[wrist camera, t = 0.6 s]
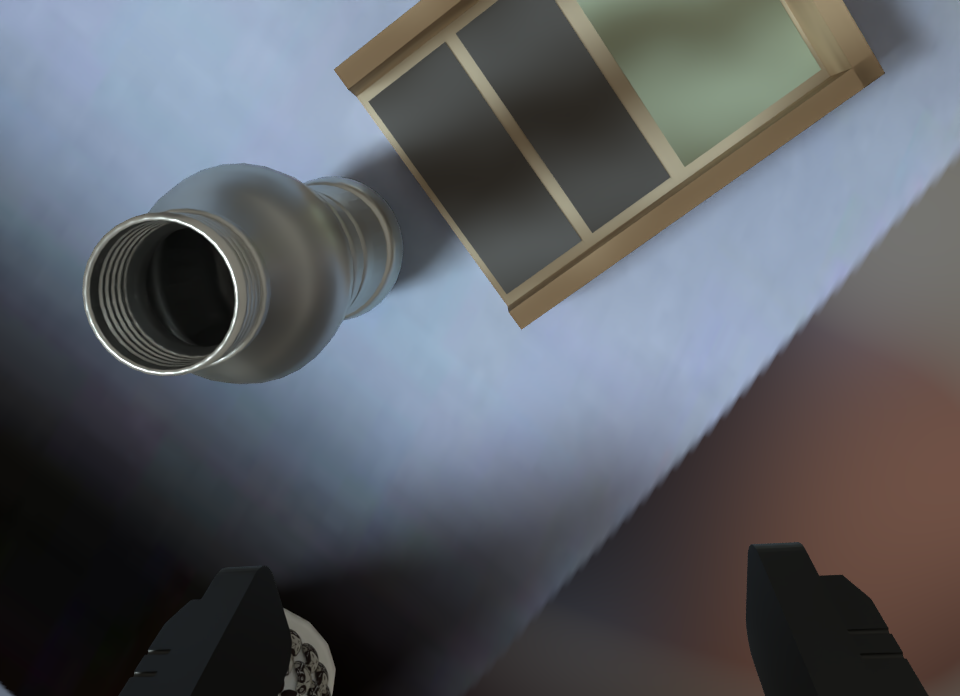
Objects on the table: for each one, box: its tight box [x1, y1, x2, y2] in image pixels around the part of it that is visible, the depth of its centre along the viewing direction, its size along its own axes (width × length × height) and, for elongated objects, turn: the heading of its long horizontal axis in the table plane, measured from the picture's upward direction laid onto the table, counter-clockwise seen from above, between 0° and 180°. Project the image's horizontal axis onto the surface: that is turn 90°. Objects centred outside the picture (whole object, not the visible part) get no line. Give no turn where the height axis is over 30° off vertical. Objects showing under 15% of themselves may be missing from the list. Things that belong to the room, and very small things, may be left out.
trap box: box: [334, 0, 885, 330], centre depth 32 cm, size 14×19×4 cm
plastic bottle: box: [83, 163, 403, 384], centre depth 25 cm, size 6×7×20 cm
